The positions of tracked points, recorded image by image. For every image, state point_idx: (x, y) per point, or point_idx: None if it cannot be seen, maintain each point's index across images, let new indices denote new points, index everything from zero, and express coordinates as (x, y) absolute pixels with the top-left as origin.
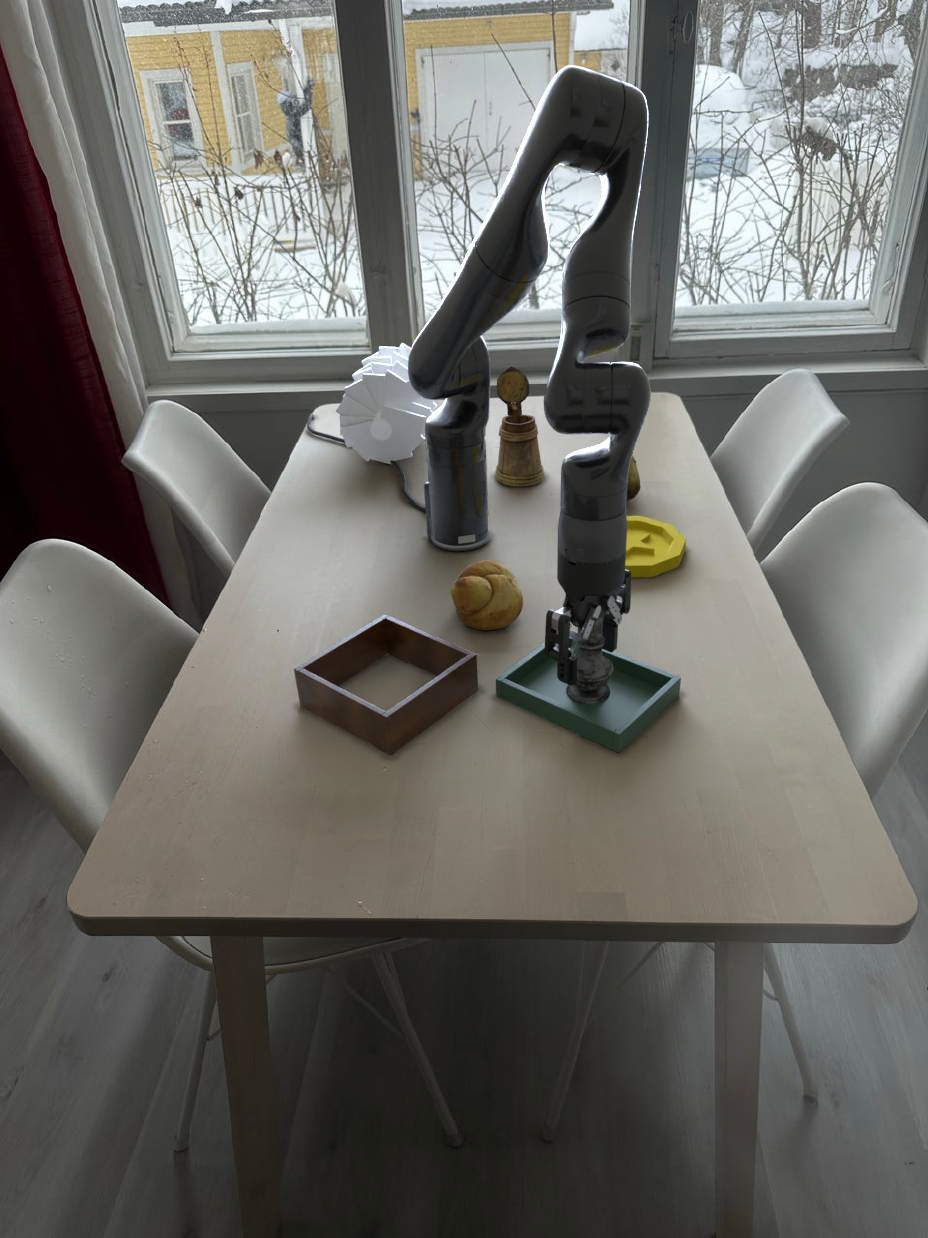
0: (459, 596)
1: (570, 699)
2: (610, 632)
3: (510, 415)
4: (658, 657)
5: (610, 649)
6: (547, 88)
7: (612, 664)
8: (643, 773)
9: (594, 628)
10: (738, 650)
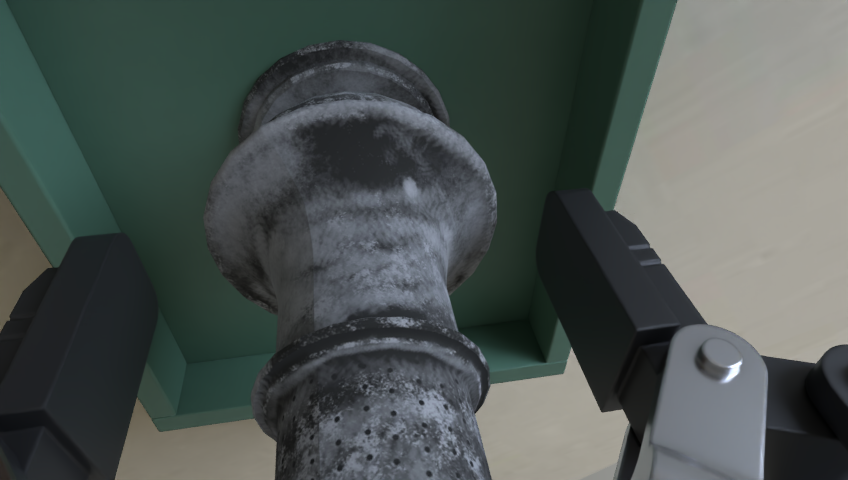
0: None
1: (231, 128)
2: (587, 349)
3: None
4: (732, 172)
5: (541, 260)
6: None
7: (453, 291)
8: None
9: None
10: (824, 297)
